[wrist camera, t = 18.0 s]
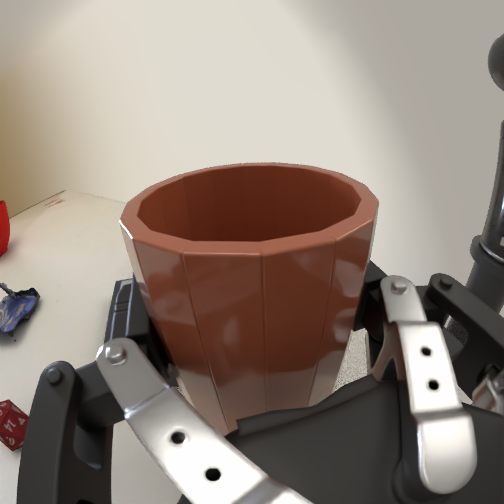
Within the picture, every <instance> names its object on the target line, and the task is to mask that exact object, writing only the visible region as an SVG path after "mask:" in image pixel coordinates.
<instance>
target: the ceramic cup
mask: <svg viewBox="0 0 504 504" xmlns="http://www.w3.org/2000/svg"><path fill="white" fill-rule="evenodd" d="M9 236H10V223H9V217H8V212H7V207H6V204H5V201H4V200H2V201H0V256H1V255H3V254H4V253H5V252H6V250H7V246H8V242H9Z"/></svg>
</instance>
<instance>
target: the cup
mask: <svg viewBox="0 0 504 504" xmlns="http://www.w3.org/2000/svg"><path fill="white" fill-rule="evenodd" d="M378 207H379V201H378V199H377V198H376V197H375V195H374V194H373V193H372V192H371V191H370V190H369V188H368V187H367V186H366V185H364V184H363V183H361V182H358V181H356V180H354V179H352V178H350V177H348V176H346V175H344V174H342V173H338V172H335V171H331V170H326V169H322V168H318V167H313V166H308V165H298V164H288V163H243V164H242V163H239V164H231V165H223V166H216V167H209V168H204V169H200V170H196V171H192V172H188V173H184V174H180V175H177V176H174V177H171V178H169V179H166V180H164V181H162V182H160V183H157V184H155V185H152V186H150V187H148V188H147V189H145V190H144V191H142V192H141V193H139V194H138V195H137V196H135V197H134V198H133V199H131V200H130V201H129V202H128V203H127V204H126V206H125V209H124V211H123V213H122V215H121V218H120V226H121V230H122V234H123V238H124V241H125V245H126V248H127V252H128V255H129V258H130V262H131V265H132V268H133V271H134V274H135V277H136V280H137V283H138V286H139V289H140V292H141V295H142V298H143V301H144V303H145V306H146V309H147V312H148V314H149V317H150V319H151V322H152V325H153V327H154V330H155V332H156V335H157V337H158V340H159V342H160V344H161V347H162V349H163V351H164V354H165V356H166V358H167V361H168V363H169V365H170V367H171V369H172V372H173V374H174V376H175V378H176V380H177V382H178V384H179V386H180V389H181V391H182V393H183V395H184V397H185V399H186V400H187V401H188V402H189V403H190V404H191V405H192V406H193V407H194V408H195V409H196V410H197V411H198V412H199V413H200V414H201V415H202V416H203V417H204V418H205V419H206V420H207V421H208V422H209V423H210V424H211V425H212V426H213V427H214V428H215V429H216V430H217V431H218V432H219V433H220V434H221V435H222V436H223V437H224V436H225V435H227V434H228V433H230V432H232V431H234V430H236V429H238V427H237V424H236V419H241V418H245V417H249V416H253V415H257V414H261V413H264V412H268V411H272V410H282V409H294V408H304V407H311V406H314V405H316V404H318V403H319V402H321V401H322V400H324V399H325V398H327V397H328V396H330V395H331V394H332V393H333V392H334V389H335V387H336V384H337V381H338V378H339V375H340V372H341V369H342V366H343V363H344V360H345V357H346V353H347V350H348V347H349V344H350V340H351V337H352V333H353V330H354V326H355V322H356V319H357V315H358V311H359V307H360V303H361V299H362V294H363V290H364V286H365V281H366V277H367V272H368V267H369V262H370V257H371V251H372V246H373V240H374V234H375V227H376V221H377V214H378Z"/></svg>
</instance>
